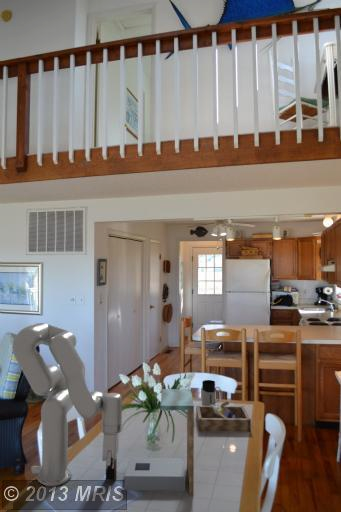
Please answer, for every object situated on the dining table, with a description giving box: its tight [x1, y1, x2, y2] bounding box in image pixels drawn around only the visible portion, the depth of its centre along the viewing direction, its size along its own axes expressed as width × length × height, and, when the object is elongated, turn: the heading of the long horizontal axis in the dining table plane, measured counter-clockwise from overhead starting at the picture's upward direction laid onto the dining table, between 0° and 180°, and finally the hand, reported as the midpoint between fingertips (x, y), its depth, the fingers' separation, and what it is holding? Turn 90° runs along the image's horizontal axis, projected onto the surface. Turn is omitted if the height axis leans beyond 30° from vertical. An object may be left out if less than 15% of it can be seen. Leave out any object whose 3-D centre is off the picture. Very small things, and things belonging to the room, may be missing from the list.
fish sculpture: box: [211, 401, 236, 418], centre depth 204 cm, size 12×20×15 cm
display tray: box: [195, 405, 252, 433], centre depth 205 cm, size 26×20×6 cm
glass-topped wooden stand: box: [160, 388, 195, 496], centre depth 150 cm, size 12×20×32 cm, turn 0°
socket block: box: [124, 457, 186, 492], centre depth 149 cm, size 22×14×5 cm, turn 90°
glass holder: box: [201, 379, 222, 406], centre depth 228 cm, size 9×14×15 cm, turn 38°
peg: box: [105, 455, 118, 484], centre depth 149 cm, size 4×4×10 cm
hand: (111, 475), depth 149 cm, fingers closed on peg, 4 cm apart
